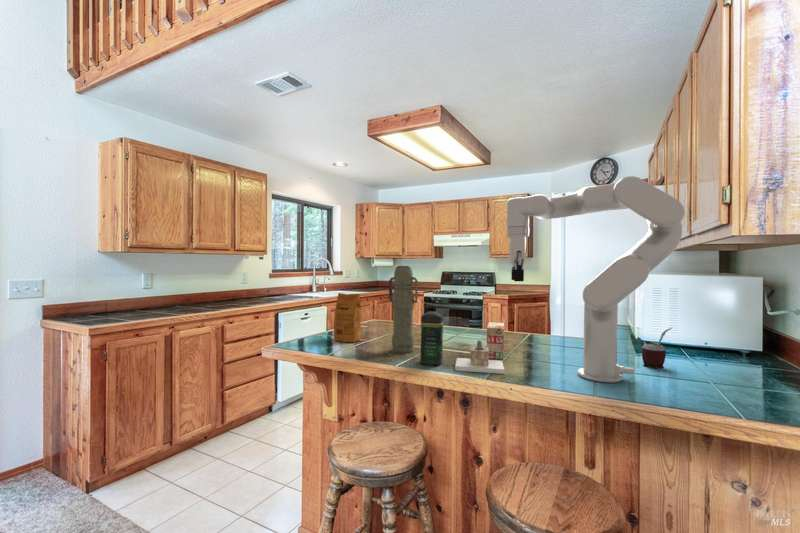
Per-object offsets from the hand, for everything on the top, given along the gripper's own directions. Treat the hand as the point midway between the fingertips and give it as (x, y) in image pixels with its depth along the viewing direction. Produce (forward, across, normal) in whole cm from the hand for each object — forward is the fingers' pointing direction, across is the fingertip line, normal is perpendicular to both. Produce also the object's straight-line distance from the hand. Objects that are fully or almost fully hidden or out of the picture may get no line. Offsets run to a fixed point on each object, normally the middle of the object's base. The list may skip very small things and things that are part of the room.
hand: (517, 280), depth 132 cm
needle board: (+30, +6, -13) cm, 34 cm away
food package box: (+31, -17, -6) cm, 36 cm away
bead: (+29, +6, -13) cm, 32 cm away
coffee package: (+31, -24, -73) cm, 83 cm away
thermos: (+31, -11, -44) cm, 55 cm away
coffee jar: (+31, +4, -30) cm, 43 cm away
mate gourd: (+31, -9, +48) cm, 58 cm away
